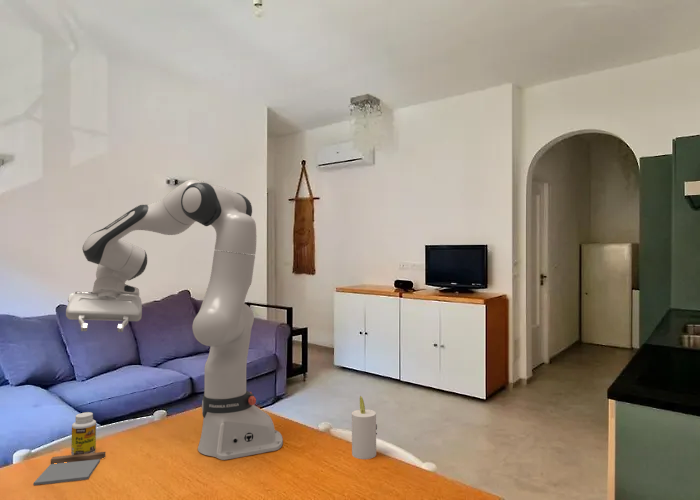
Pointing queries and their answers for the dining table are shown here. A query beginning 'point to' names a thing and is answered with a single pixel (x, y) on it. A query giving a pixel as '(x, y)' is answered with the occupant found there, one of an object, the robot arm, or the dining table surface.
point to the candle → (364, 432)
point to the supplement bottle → (83, 434)
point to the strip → (78, 457)
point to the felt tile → (67, 472)
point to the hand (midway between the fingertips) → (102, 330)
